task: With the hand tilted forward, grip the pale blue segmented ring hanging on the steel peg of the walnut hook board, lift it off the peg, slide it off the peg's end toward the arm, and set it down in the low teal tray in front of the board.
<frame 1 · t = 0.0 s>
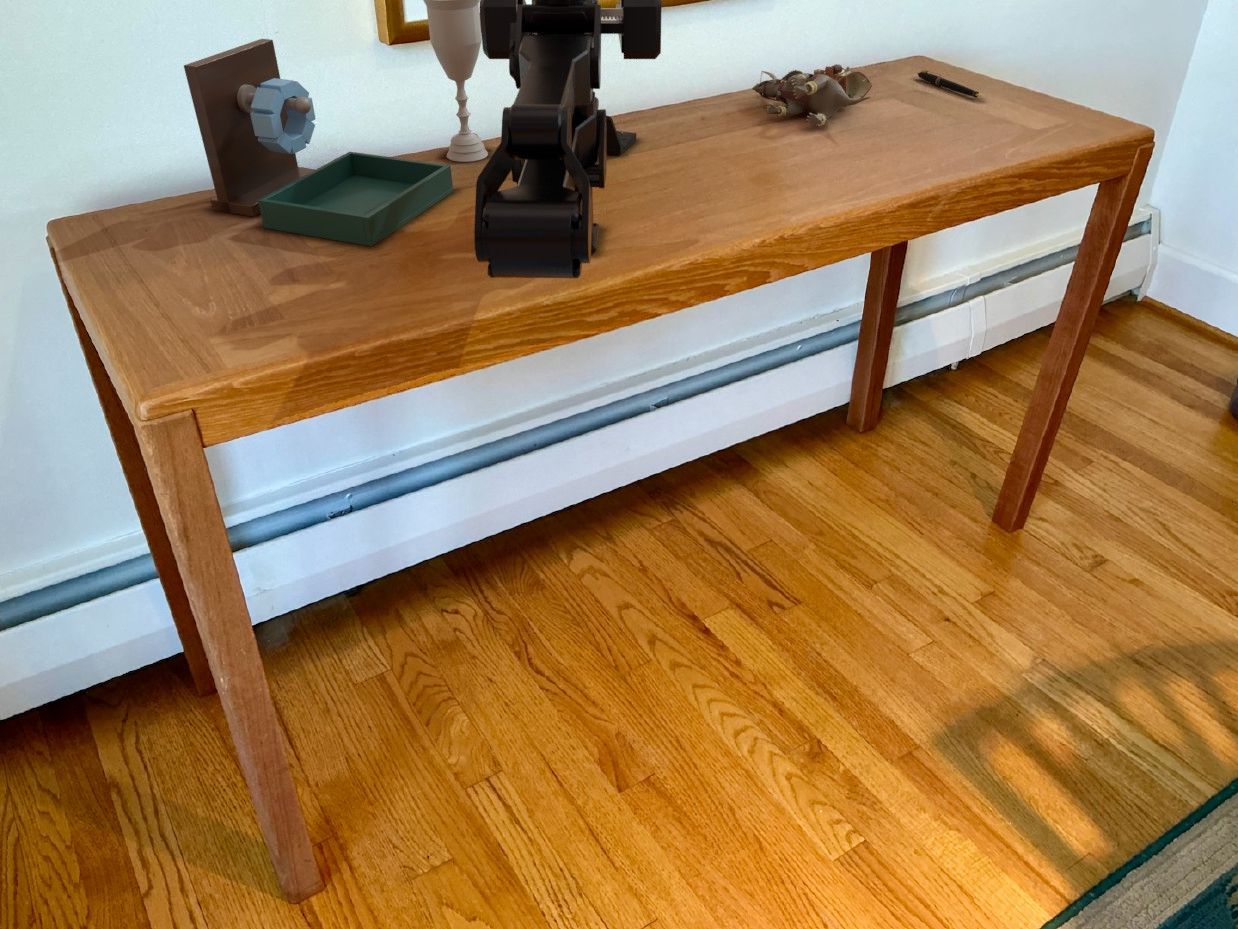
hand: (577, 9, 110), 17 cm above the table, tool horizontal, fingers open, 9 cm apart
hook rack: (300, 199, 109), on the table
tray: (362, 209, 107), on the table
figurine: (818, 111, 135), on the table
chalice: (467, 156, 121), on the table
bookend: (583, 148, 123), on the table
blue segmented ring: (283, 116, 104), point 9 cm above the table, touching hook rack
fountain pen: (948, 90, 142), on the table
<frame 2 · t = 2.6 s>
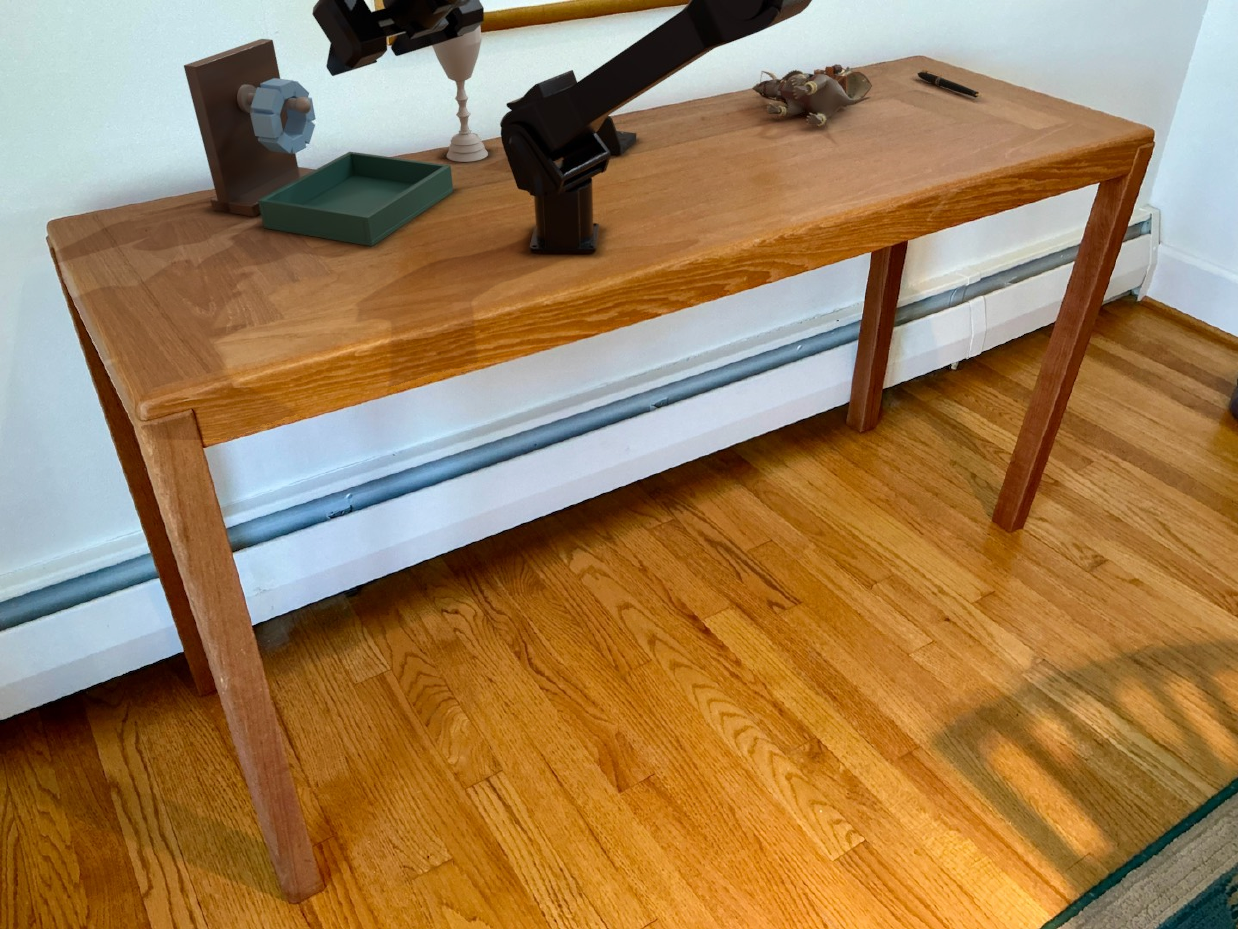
hand: (363, 61, 102), 14 cm above the table, tool tilted 50°, fingers open, 9 cm apart
nothing on the table moved.
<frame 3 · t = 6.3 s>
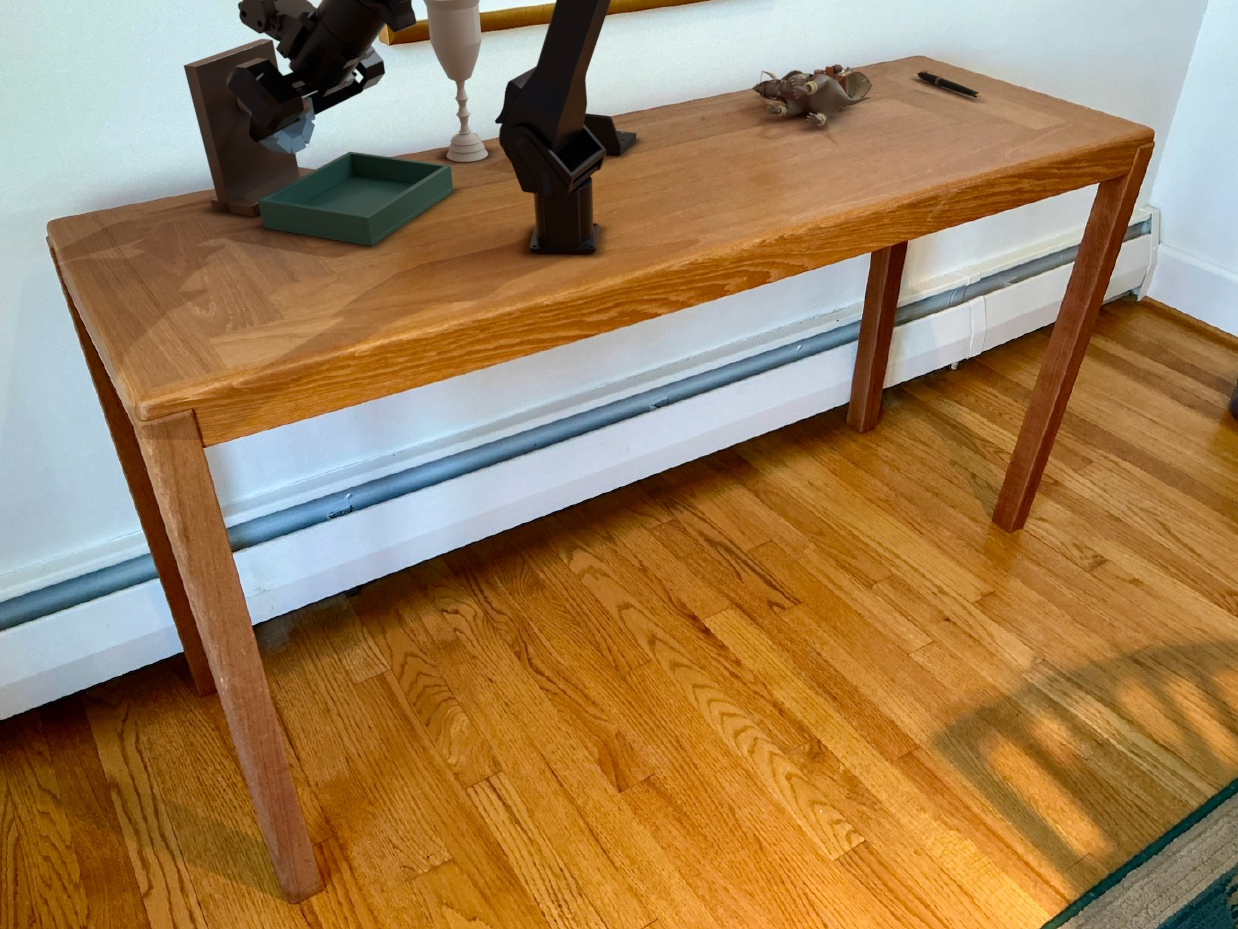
hand: (275, 128, 105), 8 cm above the table, tool tilted 45°, fingers closed on blue segmented ring, 7 cm apart
blue segmented ring: (283, 116, 104), point 9 cm above the table, touching gripper, hook rack
everything else where it was.
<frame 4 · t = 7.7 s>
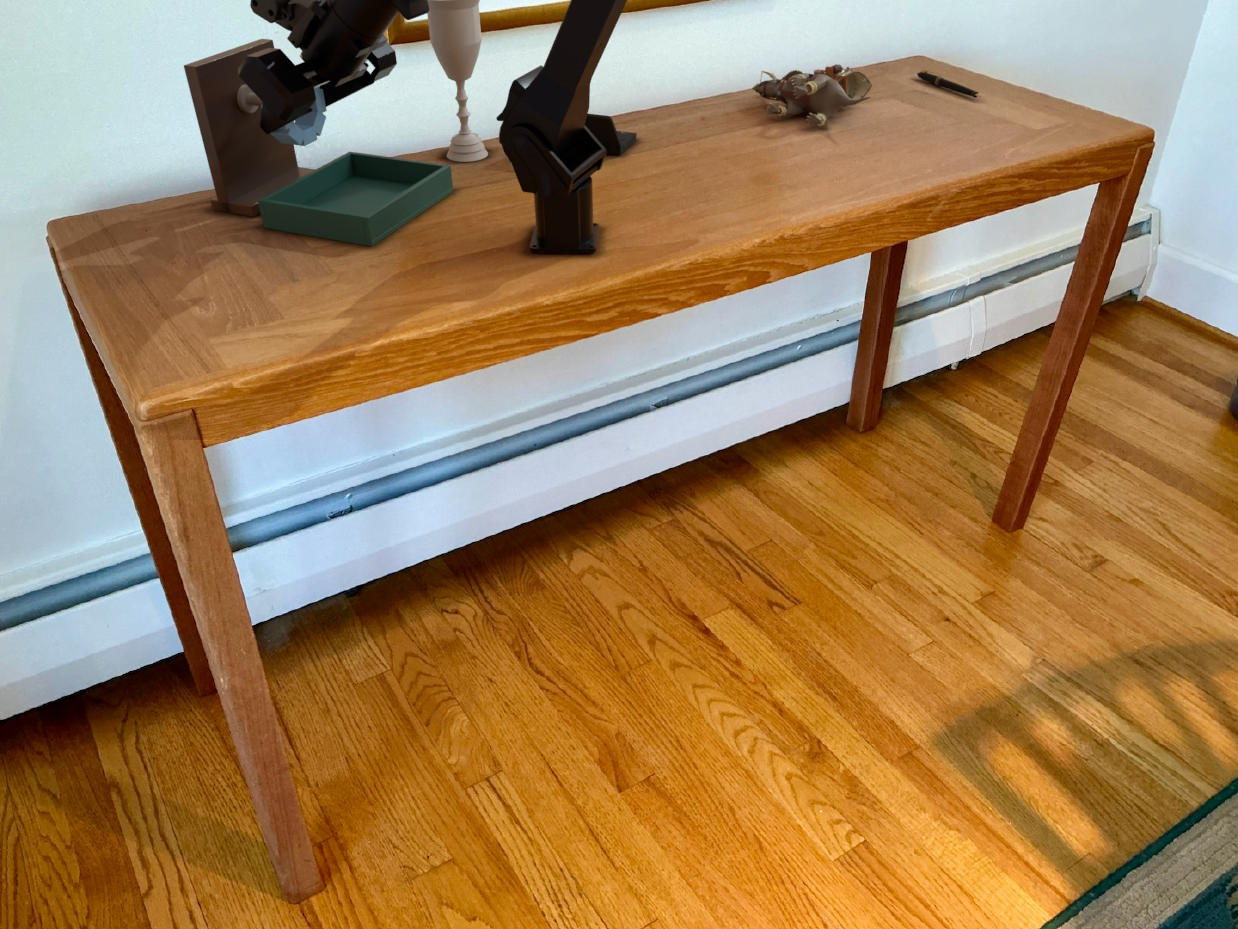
hand: (286, 120, 104), 9 cm above the table, tool tilted 45°, fingers closed on blue segmented ring, 7 cm apart
blue segmented ring: (294, 107, 103), point 10 cm above the table, touching gripper
everything else where it was.
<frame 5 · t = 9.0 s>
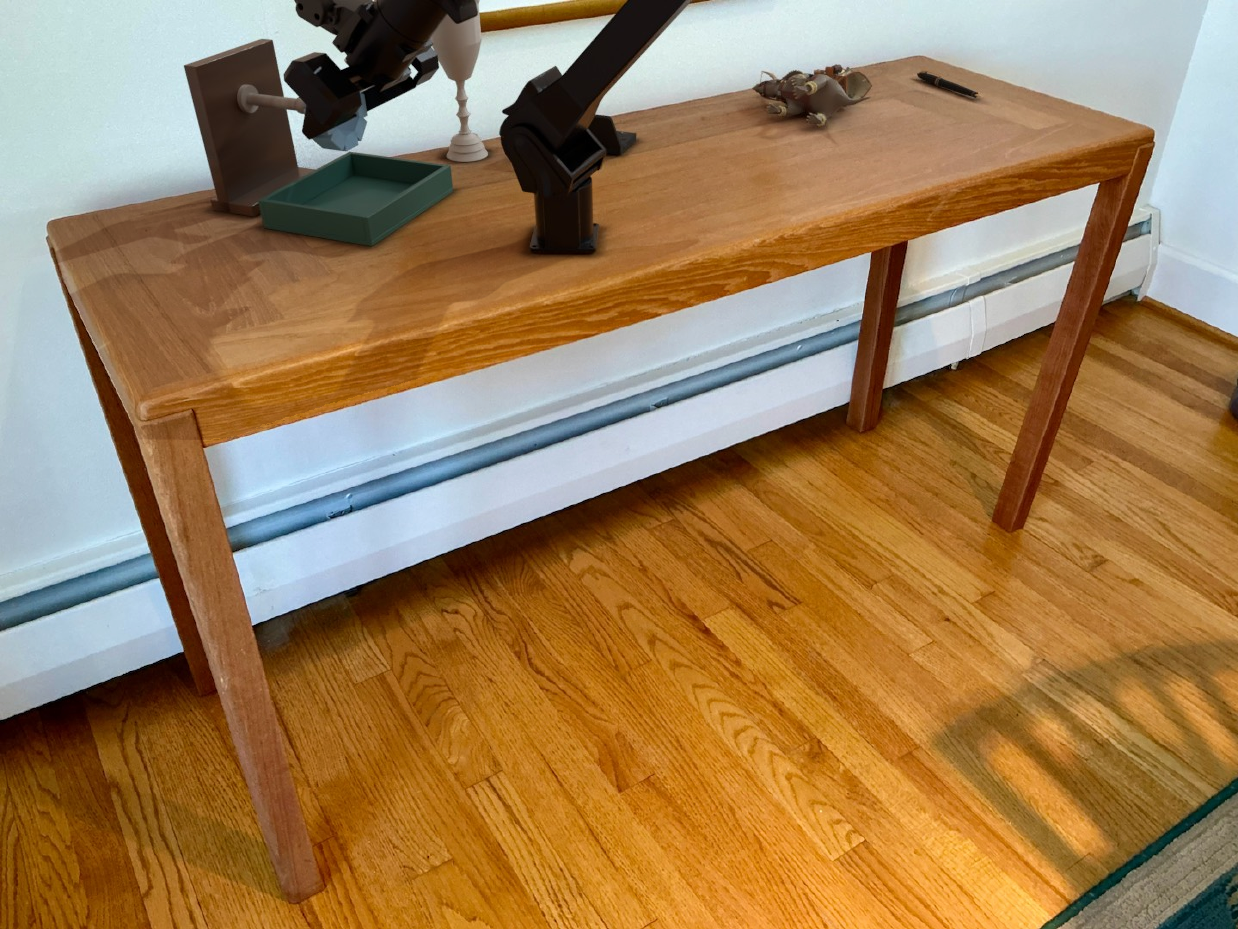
hand: (327, 125, 102), 9 cm above the table, tool tilted 45°, fingers closed on blue segmented ring, 7 cm apart
blue segmented ring: (336, 112, 101), point 10 cm above the table, touching gripper
everything else where it was.
when the fingers open (3 cm above the table, at t = 11.7 s): blue segmented ring stays where it is, resting on tray.
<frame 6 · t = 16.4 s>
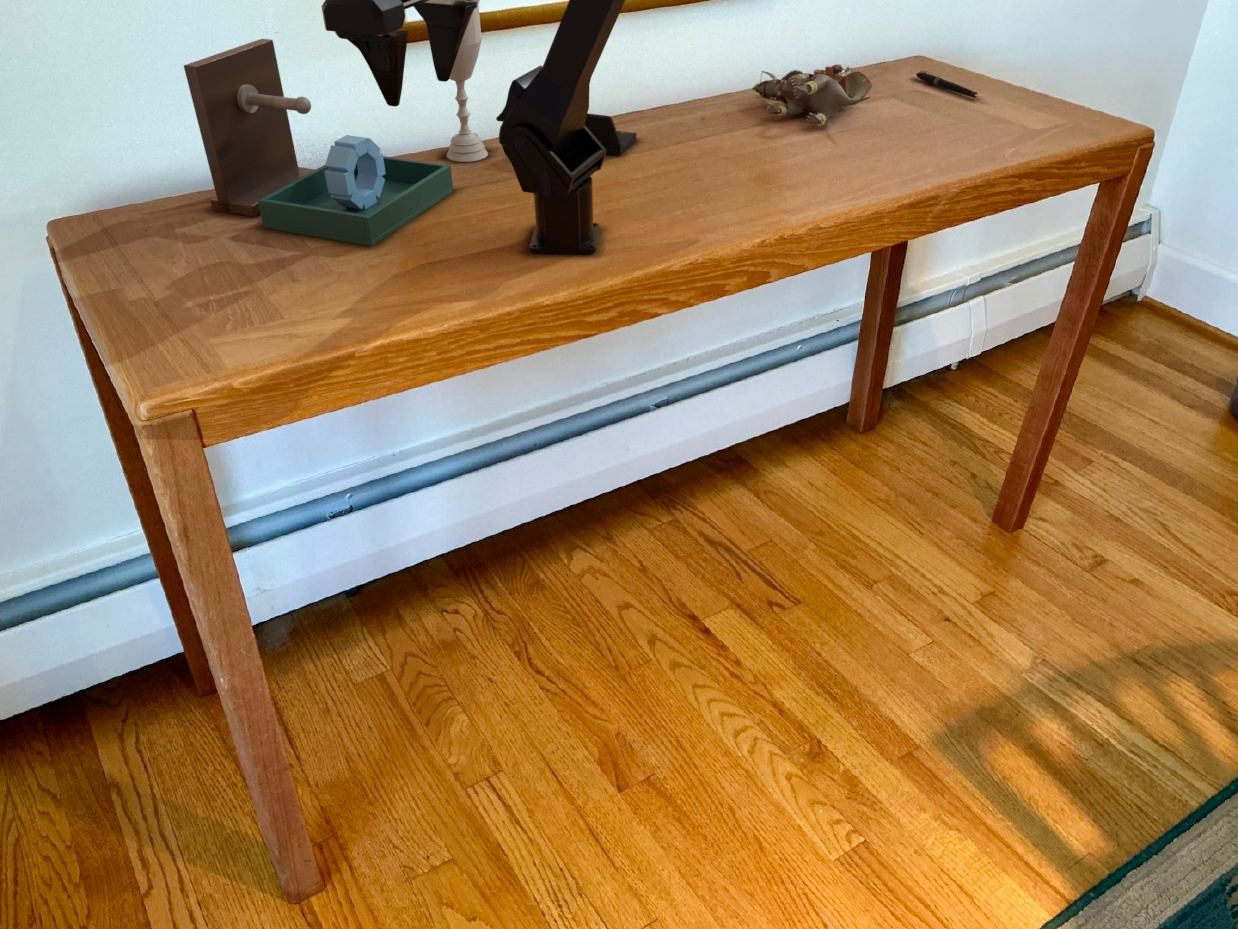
hand: (419, 92, 96), 13 cm above the table, tool pointing down, fingers open, 9 cm apart
blue segmented ring: (356, 172, 104), point 4 cm above the table, touching tray
everything else where it was.
at the end: blue segmented ring 0.0 cm from the tray (horizontally); blue segmented ring point 4.0 cm above the table; the gripper is holding nothing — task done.
